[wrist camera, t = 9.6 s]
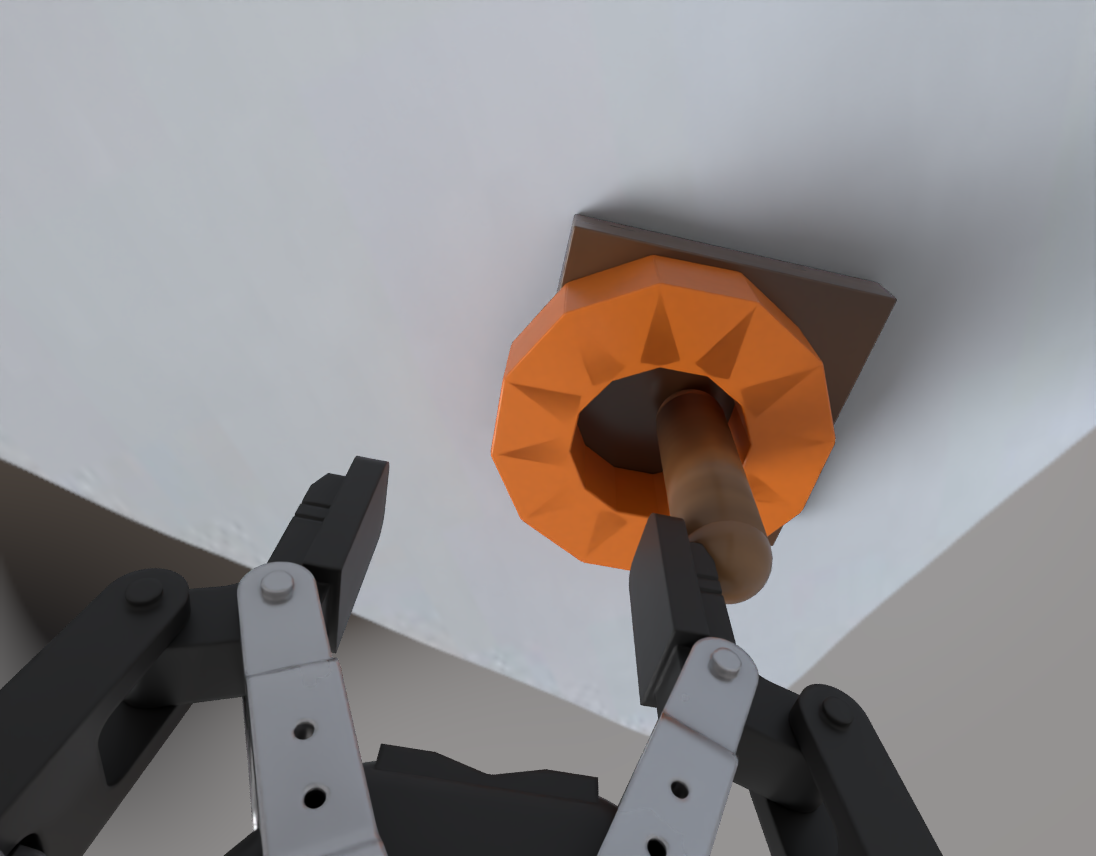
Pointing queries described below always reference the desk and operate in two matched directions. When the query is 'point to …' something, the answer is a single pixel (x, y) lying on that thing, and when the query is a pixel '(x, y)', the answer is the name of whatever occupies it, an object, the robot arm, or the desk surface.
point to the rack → (717, 391)
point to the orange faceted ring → (638, 346)
